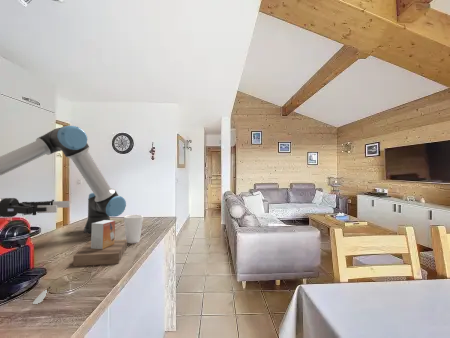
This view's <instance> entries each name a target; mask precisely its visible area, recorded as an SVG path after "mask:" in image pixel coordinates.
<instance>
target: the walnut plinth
mask: <svg viewBox="0 0 450 338" xmlns="http://www.w3.org/2000/svg"><path fill="white" fill-rule="evenodd" d="M127 247H128V243H127V240H126V239H114V245H111V246H109V247H106V248H104V249H91V240H89V241H88V242H87V243H86V244H84V245H83V247H81V248H80V249H79V250H78V251H77V252H75V253H74V254H73V261H72V263H73V265H72V266H73V267H81V266H98V265H111V264H112V265H113V264H120V261H121V260H122V258H123V257H124V254H125V252H126V251H127Z"/></svg>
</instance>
